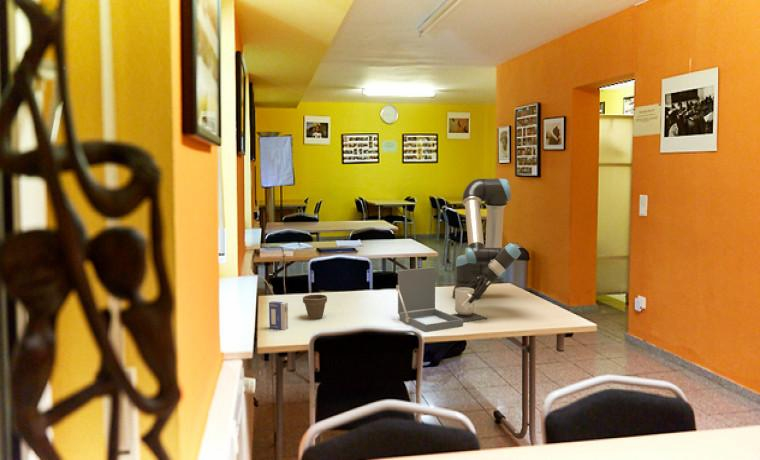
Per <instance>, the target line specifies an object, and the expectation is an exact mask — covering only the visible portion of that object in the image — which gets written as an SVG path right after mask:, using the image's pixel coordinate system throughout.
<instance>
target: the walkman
mask: <svg viewBox="0 0 760 460" xmlns="http://www.w3.org/2000/svg"><path fill="white" fill-rule="evenodd" d="M288 305H289V304H288V302H286V301H285V302H284V301H275V300H274V301H270V302H268V312H269V313H268V314H269V315H268V317H269V318H268V319H269V329H271V330H283V331H286V330H288V329H289V310H288V308H289V307H288Z"/></svg>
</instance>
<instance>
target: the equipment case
mask: <svg viewBox="0 0 760 460" xmlns="http://www.w3.org/2000/svg"><path fill="white" fill-rule="evenodd" d="M395 288H396V289H395V290H396V291H397V314H398V316H399V317H398V318H399V319H398V320H399V321H401V322H403V323H405V324H407V325H409V326H411V327H414V328H416V329H418V330H420V331H422V332H423V333H424V332H425V333H427V332H434V331H435V332H436V331H440V330H446V329H447V330H448V329H454V328H459V327H464V323H463V319H460V318H458V317H455V316H452V315H451V314H449V313H447V312H445V311H442V310H439V309H436V267H435V266H433V267H432V266H431V267H420V268H410V269H409V268H408V269H399V270H397V284H396V285H395ZM427 317H436V318H440V319H442V320H445V321H442V322H433V323H427V324H426V323H424V322H421V321H419V320H417V319H420V318H427Z"/></svg>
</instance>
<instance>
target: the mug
mask: <svg viewBox="0 0 760 460" xmlns="http://www.w3.org/2000/svg"><path fill="white" fill-rule="evenodd" d="M471 294H474V289H472V288H466V287H461V288H456V289H455V298H454V311H455V312H456V314H471V313H472V312H473V313H474V311H475V301H474V302H473V303H472V304H471V305H470V306H469V307H468V308H467V309H465V308H464V307H463V306H462V304H463V303H464V302H465V301H466V300H467V299H468V298H469V297H470V296H471Z"/></svg>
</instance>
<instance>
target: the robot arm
mask: <svg viewBox="0 0 760 460" xmlns="http://www.w3.org/2000/svg"><path fill="white" fill-rule="evenodd" d="M511 198H512V194H511V185H510V182H509V181H508V179H506V178H498V177H496V178H476V179H474V180H472V181H470V182H469V183H468V184H467V186H465V189H464V190H463V193H462V198H461V199H462V205H463V206H464V208H465V209H464V211H465V220H466V221H465V222H466V232H467V234H466V236H467V245H468V247H466V248H465V249H464V254H460V255H459V256H457V257H456V260H455V261H456V262H455V285H454V287H453V291H452V295H451V296H452V298H453V299H455V289H456V288H461V287H466V288H472V289H474V294H471V296H470V297H469V298H468V299H467V300H466V301H465V302H464V303H463V304H462V306H463V307H464V308H465V309H467V308H468V307H469V306H470V305H471V304H472V303H473V302H474V303H475V301H477V300H480V299H481V298H482V296H483V294H484V293H485V292H486V290H487V289H488V288H489V287H490V285H492V283H495V282H496V281H497V279H503V278H504V277H505V276H506V273H507V270H508V268H509V267H510V266H511V265H513V263H514V262H515V261H516V260H518V258H519V257H520V256H521V254H522V252H521V251H520V249H519V248H518V247H517V246H516V245H515V244H513V243H511V242H510V243H508V244H507V245H505V246H504V247H503V229H504V228H503V227H504V226H503V225H504V213H505V212H504V211H505V207H507V205H508V202H510V201H511ZM482 202H484V206H486V228H485V241H484V233H483V232H484V231H483V223H482V214H481V213H482V212H481V211H482V210H481V204H482ZM484 242H485V243H484ZM490 281H491V282H492V283H491V282H490Z"/></svg>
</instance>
